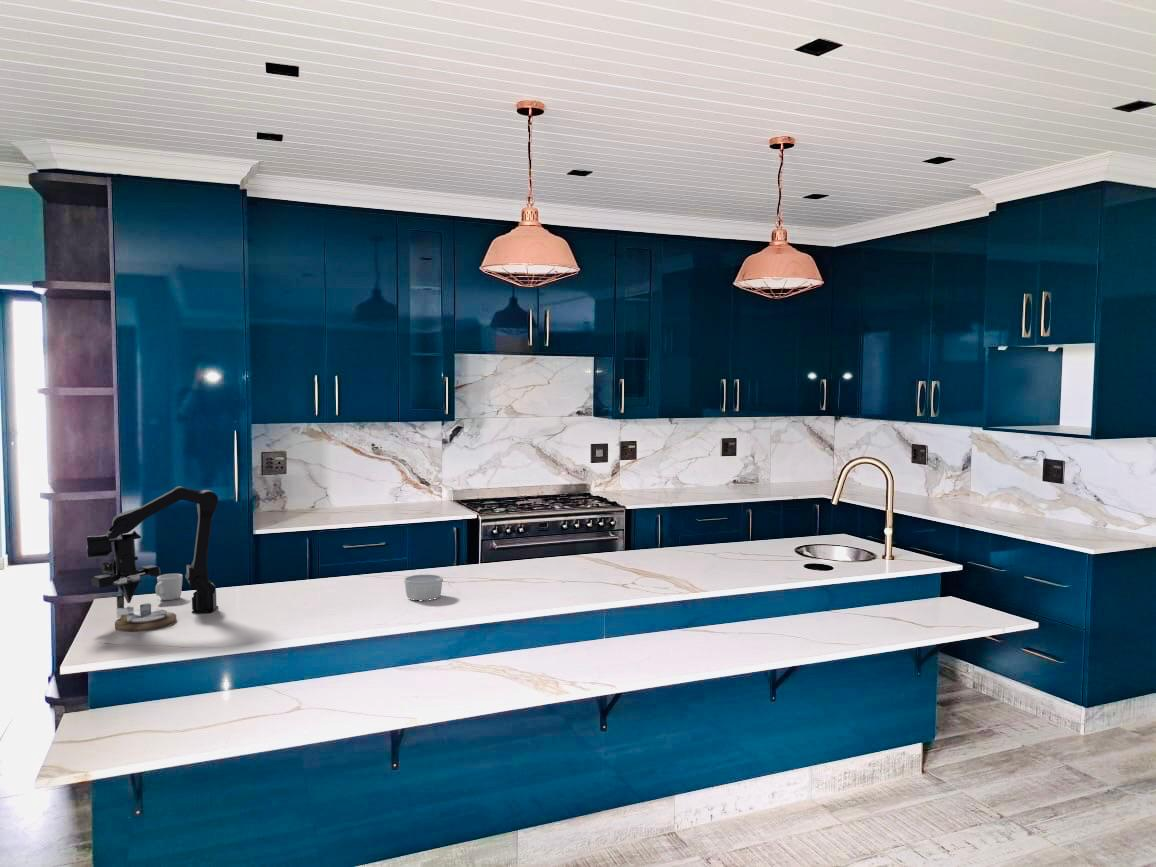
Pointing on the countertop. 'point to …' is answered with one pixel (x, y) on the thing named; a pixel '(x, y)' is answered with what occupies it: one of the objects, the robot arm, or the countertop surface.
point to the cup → (169, 586)
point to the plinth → (144, 624)
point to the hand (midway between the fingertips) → (128, 602)
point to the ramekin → (423, 586)
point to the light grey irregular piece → (139, 612)
